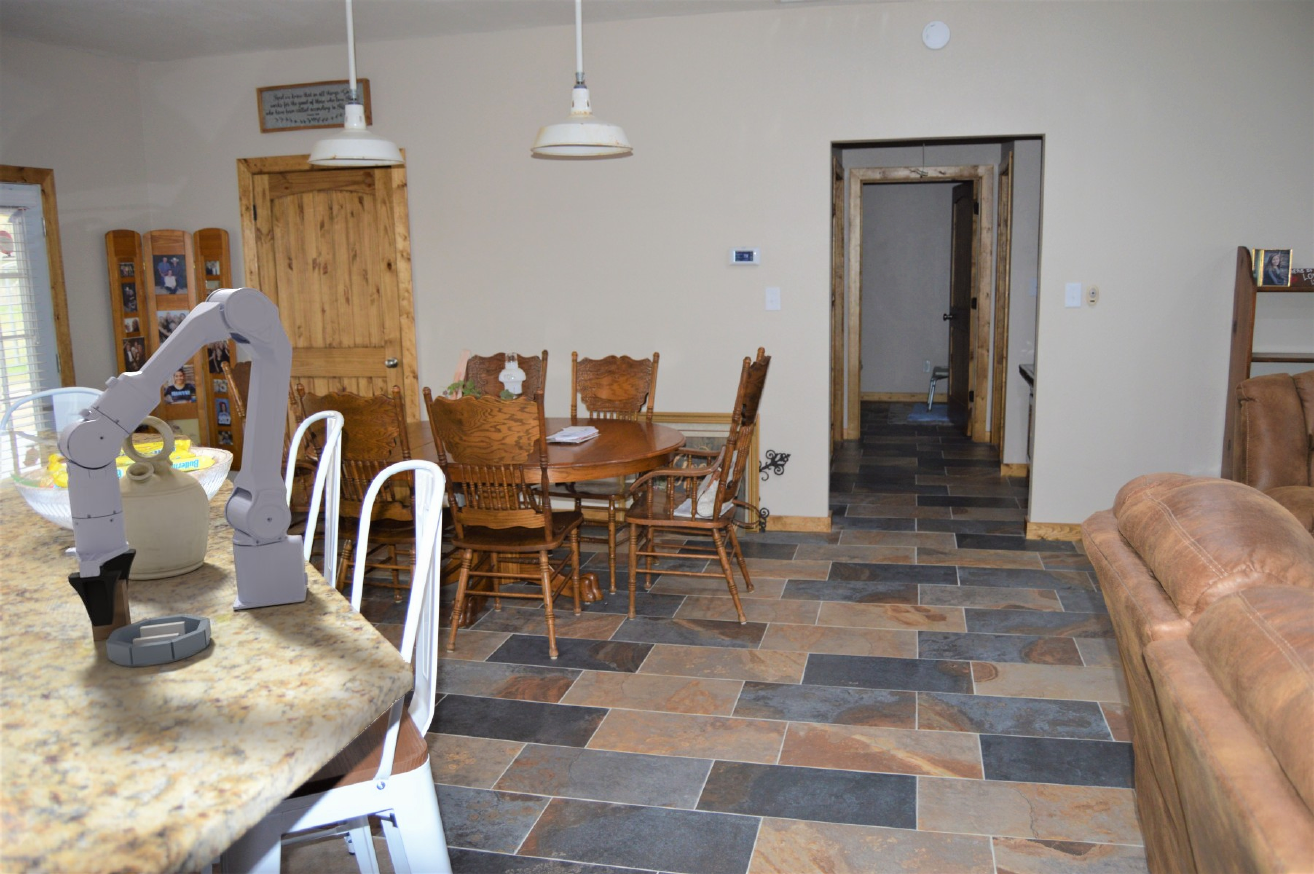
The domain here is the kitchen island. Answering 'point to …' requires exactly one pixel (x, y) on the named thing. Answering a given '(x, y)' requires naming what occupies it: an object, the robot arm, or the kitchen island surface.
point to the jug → (162, 511)
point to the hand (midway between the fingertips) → (110, 615)
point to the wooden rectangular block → (115, 613)
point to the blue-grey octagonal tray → (158, 640)
